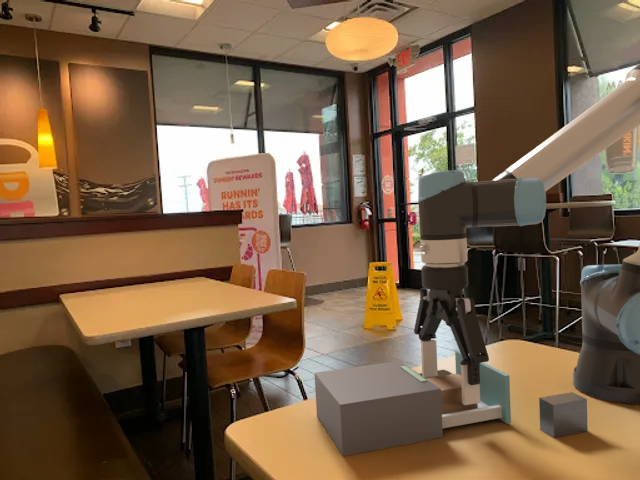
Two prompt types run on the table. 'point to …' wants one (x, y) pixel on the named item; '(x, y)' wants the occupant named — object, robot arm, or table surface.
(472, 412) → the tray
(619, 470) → the table surface
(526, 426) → the table surface
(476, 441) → the table surface
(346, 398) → the housing
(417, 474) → the table surface
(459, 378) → the walnut block
